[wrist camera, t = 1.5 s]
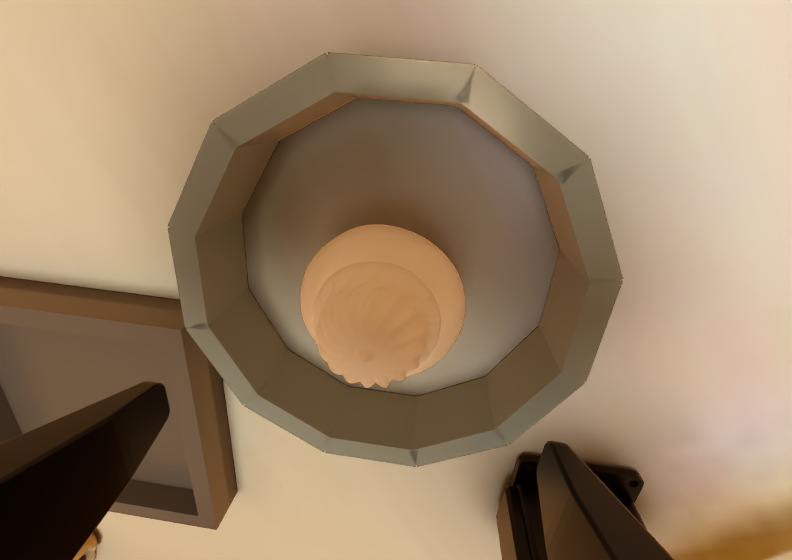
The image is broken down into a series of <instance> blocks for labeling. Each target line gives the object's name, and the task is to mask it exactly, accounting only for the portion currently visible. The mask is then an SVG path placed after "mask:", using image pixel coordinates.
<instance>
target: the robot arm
mask: <svg viewBox="0 0 792 560" xmlns="http://www.w3.org/2000/svg"><path fill="white" fill-rule="evenodd" d="M169 414H170V406H169V401H168V397H167V392H166V388H165V386H164V385H163V384H162V383H158V382H152V381H144V382H141V383H139V384H137V385H135V386H132V387H130V388H128V389H125V390H123V391H121V392H118V393H116V394H114V395H111V396H109V397H107V398H105V399H102V400H100V401H98V402H95V403H93V404H91V405H88V406H86V407H84V408H81V409H79V410H77V411H75V412H72V413H70V414H68V415H65V416H63V417H61V418H58V419H56V420H54V421H51V422H49V423H47V424H45V425H42V426H40V427H38V428H35V429H33V430H31V431H28V432H26V433H24V434H21V435H19V436H17V437H15V438H12V439H10V440H8V441H5V442H3V443H1V444H0V560H73V559H74V557H75V556H76V555H77V553H78V552H79V550H80V549H81V548H82V546H83V545H84V544H85V542H86V541H87V540H88V538H89V537H90V535H91V534H92V533H93V531H94V530H95V529H96V527H97V526H98V525H99V523H100V522H101V520H102V519H103V518H104V516H105V515H106V514H107V512H108V511H109V509H110V508H111V507H112V505H113V504H114V503H115V501H116V500H117V499H118V497H119V496H120V494H121V493H122V492H123V490H124V489H125V487H126V486H127V485H128V483H129V482H130V480H131V479H132V477H133V476H134V474H135V472H136V471H137V469H138V468H139V466H140V464H141V463H142V461H143V459H144V458H145V456H146V454H147V453H148V451H149V449H150V448H151V446H152V445H153V443H154V441H155V440H156V438H157V436H158V435H159V433H160V431H161V430H162V428H163V426H164V425H165V423H166V421H167V419H168V417H169ZM643 485H644V482H643V480H642V478H641V476H640V474H639V473H638V472H636V471H631V470H624V469H618V468H611V467H605V466H598V465H591V464H585V463H584V462H583V461H582V460H581V459H580V458H579V457H578V455H577V454H576V453H575V452H574V451H573V450H572V449H571V448H570V447H569V446H568V445H567V444H565V443H560V442H553V441H548V442H546V444H545V446H544V448H543V451H542V454H541V457H538V456H531V455H523V456H521V457H519V458H518V460H517V463H516V466H515V470H514V473H513V476H512V479H511V483H510V486H509V485H508V486H507V487H506V488H505V489H504V492H503V495H502V499H501V502H500V505H499V509H498V512H497V516H496V517H497V525H498V532H499V540H500V547H501V554H502V560H674V559H673V558H672V557H671V556H670V555H669V553H668V552H667V551H666V550H665V549H664V548H663V547H662V546H661V545H660V544H659V543H658V542H657V541H656V539H655V538H654V537H653V536H652V535H651V534H650V533H649V532H648V531H647V529H646V527H645V525H644V523H643V521H642V519H641V517H640V515H639V513H638V511H637V509H636V507H635V505H634V503H635V501H636V499H637V497H638V495H639V493H640V491H641V489H642V487H643Z"/></svg>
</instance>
